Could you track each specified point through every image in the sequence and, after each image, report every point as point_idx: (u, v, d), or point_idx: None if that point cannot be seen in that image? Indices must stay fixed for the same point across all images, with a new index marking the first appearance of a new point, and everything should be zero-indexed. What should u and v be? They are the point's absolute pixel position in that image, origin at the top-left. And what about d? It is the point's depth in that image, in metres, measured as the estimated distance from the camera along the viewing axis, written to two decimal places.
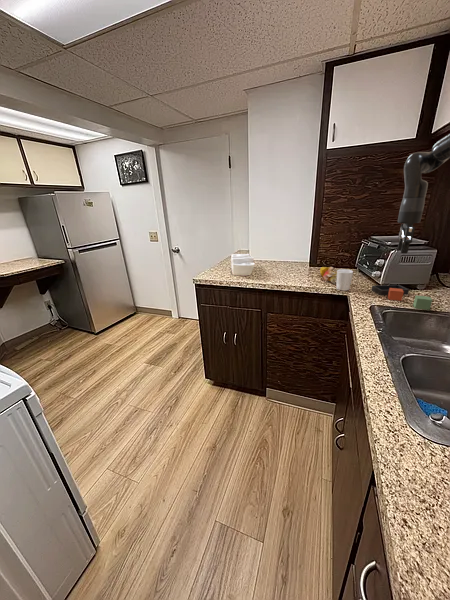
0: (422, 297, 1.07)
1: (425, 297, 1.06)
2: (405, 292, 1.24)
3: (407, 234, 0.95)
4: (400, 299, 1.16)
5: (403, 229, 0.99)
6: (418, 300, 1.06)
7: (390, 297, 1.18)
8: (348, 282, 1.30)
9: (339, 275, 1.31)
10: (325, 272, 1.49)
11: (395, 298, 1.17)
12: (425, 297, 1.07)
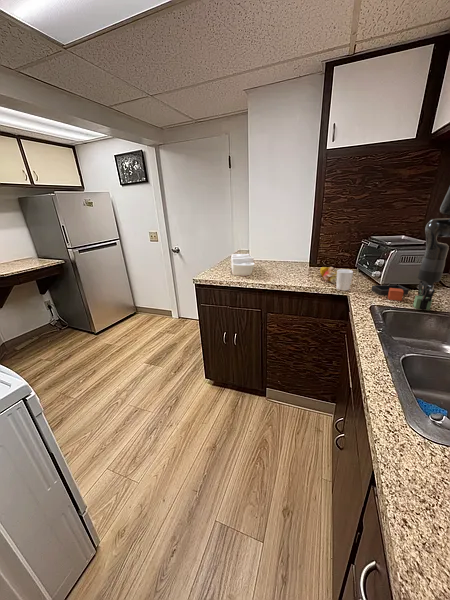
0: None
1: None
2: (405, 292, 1.24)
3: (427, 295, 1.01)
4: (400, 299, 1.16)
5: (423, 286, 1.04)
6: (418, 300, 1.06)
7: (390, 297, 1.18)
8: (348, 282, 1.30)
9: (339, 275, 1.31)
10: (325, 272, 1.49)
11: (395, 298, 1.17)
12: None
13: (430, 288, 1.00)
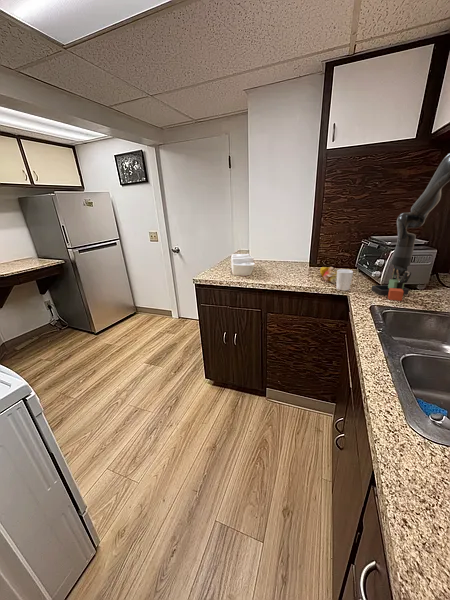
0: (397, 280, 1.25)
1: None
2: (405, 292, 1.24)
3: (405, 278, 1.19)
4: (400, 299, 1.16)
5: (399, 271, 1.22)
6: (395, 283, 1.24)
7: (390, 297, 1.18)
8: (348, 282, 1.30)
9: (339, 275, 1.31)
10: (325, 272, 1.49)
11: (395, 298, 1.17)
12: (397, 280, 1.26)
13: (407, 271, 1.18)
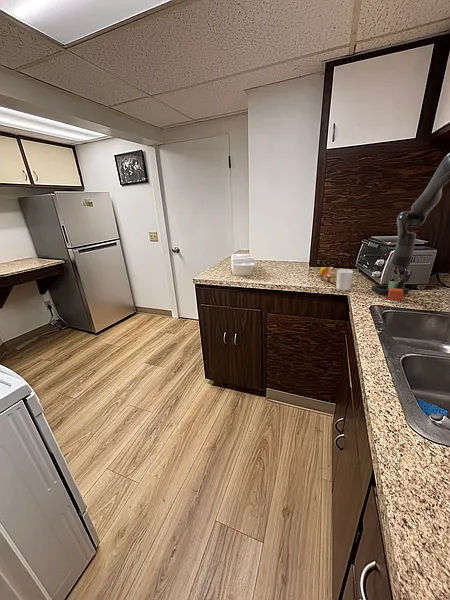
0: (396, 282, 1.25)
1: None
2: (405, 292, 1.24)
3: (406, 276, 1.18)
4: (400, 299, 1.16)
5: (399, 270, 1.21)
6: (395, 285, 1.24)
7: (390, 297, 1.18)
8: (348, 282, 1.30)
9: (339, 275, 1.31)
10: (325, 272, 1.49)
11: (395, 298, 1.17)
12: (397, 282, 1.26)
13: (407, 270, 1.18)
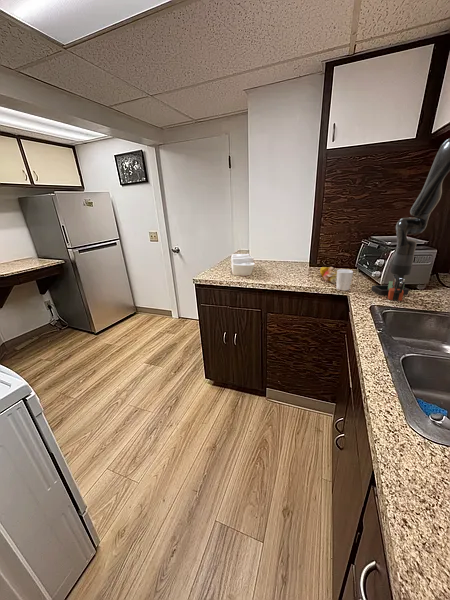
0: None
1: None
2: (405, 292, 1.24)
3: (398, 287, 1.11)
4: (400, 299, 1.16)
5: (395, 279, 1.14)
6: None
7: (390, 297, 1.18)
8: (348, 282, 1.30)
9: (339, 275, 1.31)
10: (325, 272, 1.49)
11: None
12: None
13: (400, 281, 1.11)
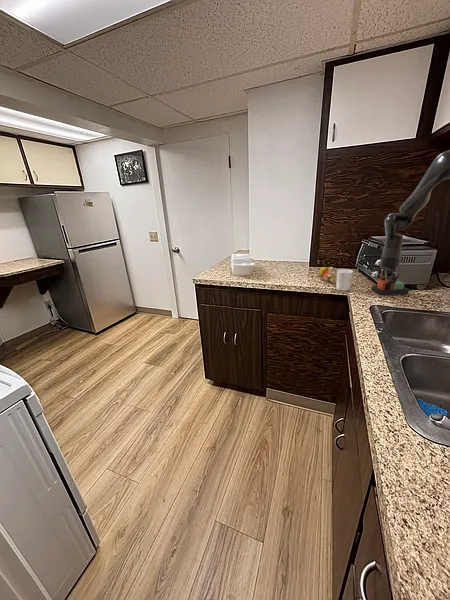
0: (396, 282, 1.25)
1: (398, 282, 1.26)
2: (405, 292, 1.24)
3: (393, 278, 1.19)
4: (390, 289, 1.25)
5: (387, 271, 1.22)
6: (395, 285, 1.24)
7: (382, 288, 1.25)
8: (348, 282, 1.30)
9: (339, 275, 1.31)
10: (325, 272, 1.49)
11: None
12: (397, 282, 1.26)
13: (395, 272, 1.18)
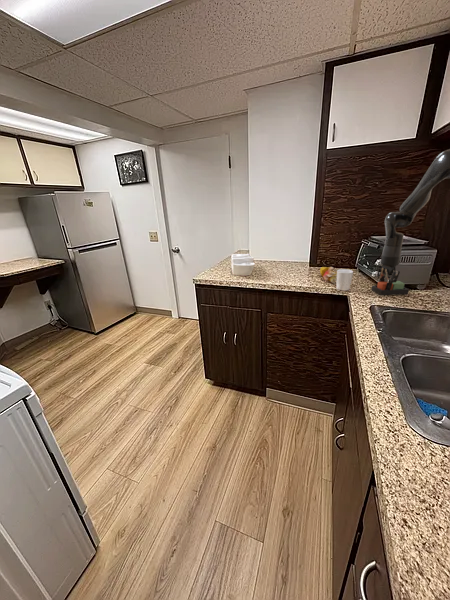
0: (396, 282, 1.25)
1: (398, 282, 1.26)
2: (405, 292, 1.24)
3: (394, 277, 1.18)
4: None
5: (387, 270, 1.21)
6: (395, 285, 1.24)
7: None
8: (348, 282, 1.30)
9: (339, 275, 1.31)
10: (325, 272, 1.49)
11: None
12: (397, 282, 1.26)
13: (395, 270, 1.18)
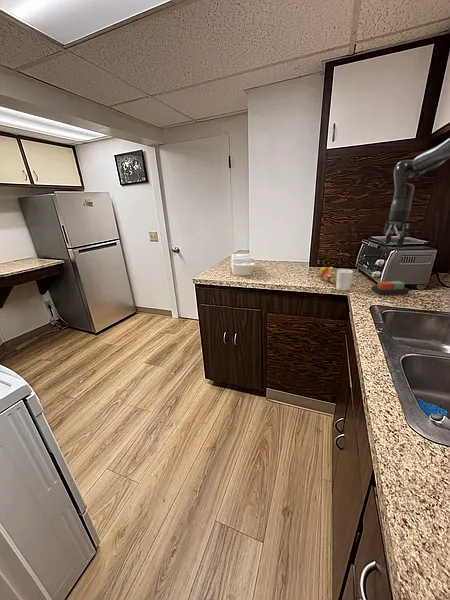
0: (396, 282, 1.25)
1: (398, 282, 1.26)
2: (405, 292, 1.24)
3: (405, 230, 1.10)
4: None
5: (396, 226, 1.14)
6: (395, 285, 1.24)
7: None
8: (348, 282, 1.30)
9: (339, 275, 1.31)
10: (325, 272, 1.49)
11: None
12: (397, 282, 1.26)
13: None
